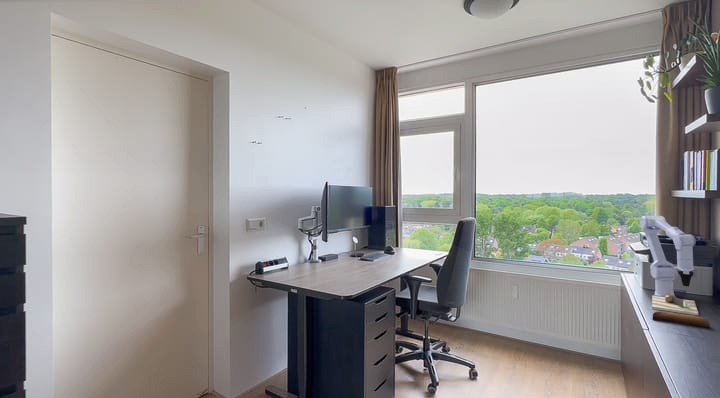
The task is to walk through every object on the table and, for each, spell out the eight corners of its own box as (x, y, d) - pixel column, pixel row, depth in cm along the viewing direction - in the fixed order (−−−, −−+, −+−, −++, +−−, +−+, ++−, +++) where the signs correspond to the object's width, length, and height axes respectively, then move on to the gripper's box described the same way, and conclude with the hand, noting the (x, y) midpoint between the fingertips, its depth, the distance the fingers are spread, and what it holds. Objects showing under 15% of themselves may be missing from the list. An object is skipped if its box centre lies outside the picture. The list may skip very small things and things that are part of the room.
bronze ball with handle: (663, 300, 172) (662, 294, 172) (671, 300, 171) (671, 294, 171) (682, 307, 160) (681, 301, 160) (691, 307, 160) (690, 301, 160)
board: (652, 297, 181) (652, 295, 181) (694, 303, 170) (694, 300, 170) (652, 308, 164) (652, 306, 164) (698, 315, 154) (698, 312, 154)
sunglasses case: (707, 322, 145) (708, 311, 142) (709, 335, 140) (710, 324, 138) (652, 314, 157) (651, 304, 154) (652, 326, 152) (652, 315, 150)
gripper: (673, 255, 177) (674, 281, 177) (674, 260, 166) (675, 287, 166) (692, 257, 172) (693, 283, 172) (694, 261, 161) (695, 290, 161)
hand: (685, 285), depth 168 cm, fingers closed
